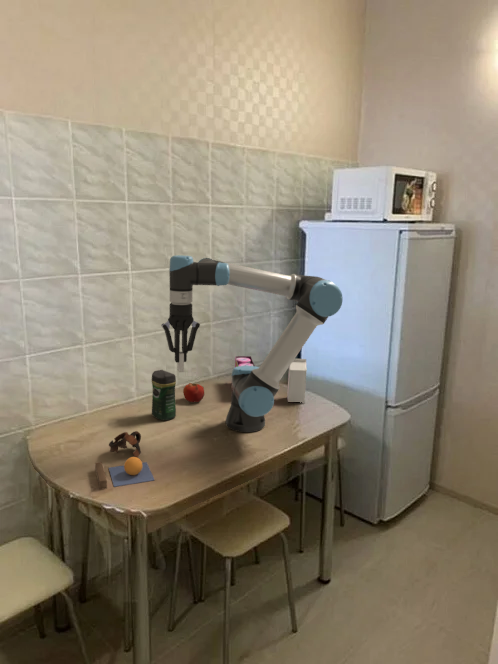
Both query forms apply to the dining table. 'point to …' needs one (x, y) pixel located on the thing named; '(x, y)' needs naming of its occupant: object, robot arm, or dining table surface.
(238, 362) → the gum box
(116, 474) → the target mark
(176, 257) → the robot arm
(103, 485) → the stopper strip
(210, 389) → the dining table surface
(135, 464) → the ball
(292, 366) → the milk carton
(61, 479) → the dining table surface
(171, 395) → the coffee jar
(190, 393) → the tomato
